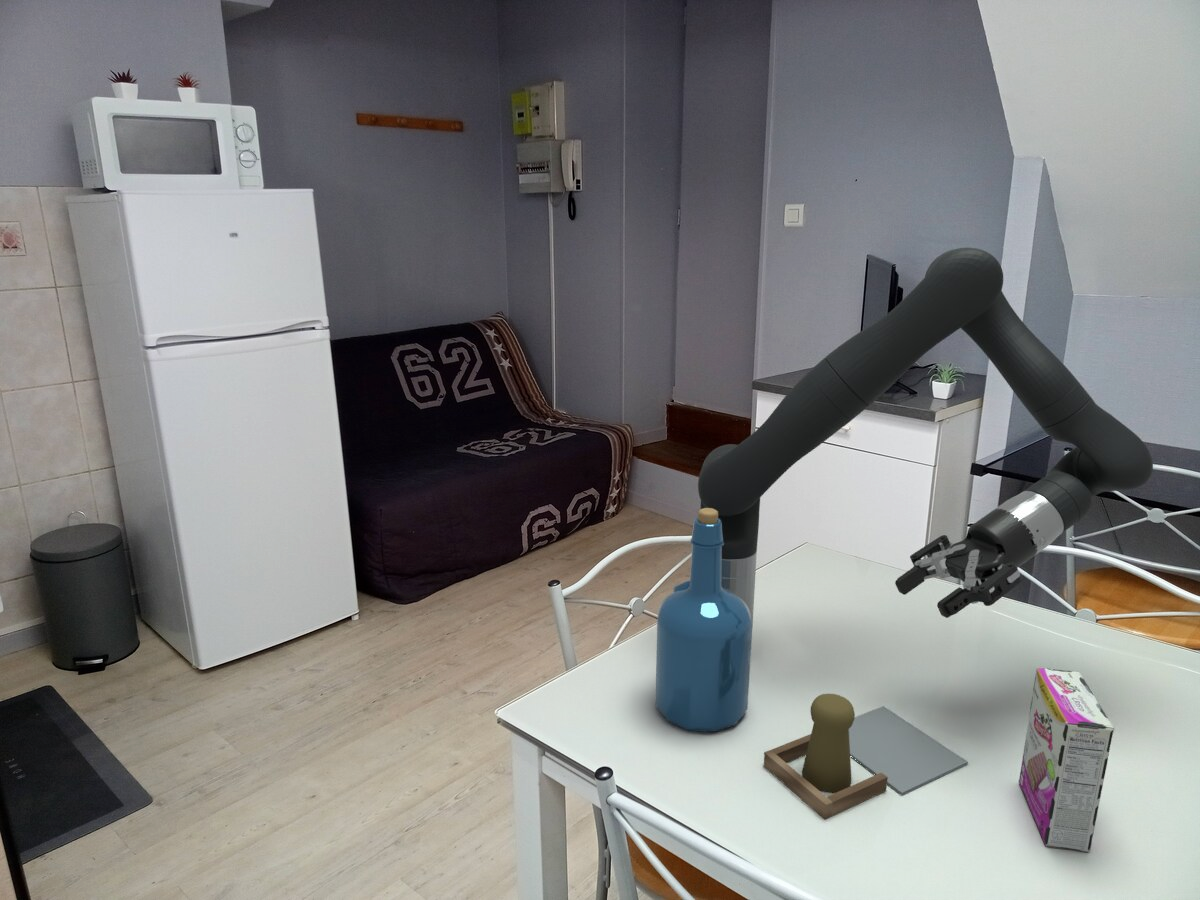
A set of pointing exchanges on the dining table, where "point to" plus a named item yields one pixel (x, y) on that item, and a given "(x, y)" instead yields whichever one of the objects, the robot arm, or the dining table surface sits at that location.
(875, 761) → the slate mat
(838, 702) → the cork
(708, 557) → the wine bottle
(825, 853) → the dining table surface
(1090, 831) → the candy bar box
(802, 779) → the wooden u-shaped frame
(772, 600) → the dining table surface
